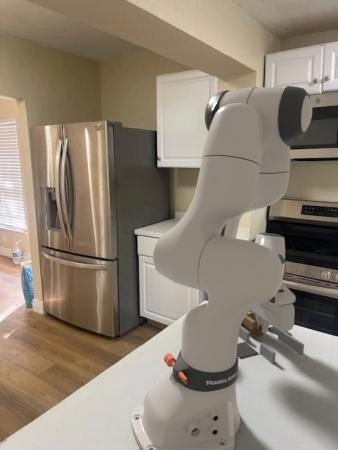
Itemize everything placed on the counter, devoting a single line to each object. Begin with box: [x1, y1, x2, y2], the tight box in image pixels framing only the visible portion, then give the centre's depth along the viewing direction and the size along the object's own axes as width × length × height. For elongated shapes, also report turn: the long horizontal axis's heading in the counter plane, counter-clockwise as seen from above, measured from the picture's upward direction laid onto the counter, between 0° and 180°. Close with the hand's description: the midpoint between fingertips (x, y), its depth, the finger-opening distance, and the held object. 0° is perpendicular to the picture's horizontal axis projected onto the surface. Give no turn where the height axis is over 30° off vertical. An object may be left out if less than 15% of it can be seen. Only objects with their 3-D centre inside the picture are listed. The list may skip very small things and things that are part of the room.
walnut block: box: [241, 312, 265, 338], centre depth 104 cm, size 5×5×5 cm
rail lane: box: [238, 312, 305, 364], centre depth 99 cm, size 11×20×4 cm, turn 24°
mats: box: [237, 326, 293, 359], centre depth 100 cm, size 22×10×1 cm, turn 114°
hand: (262, 330), depth 100 cm, fingers closed
